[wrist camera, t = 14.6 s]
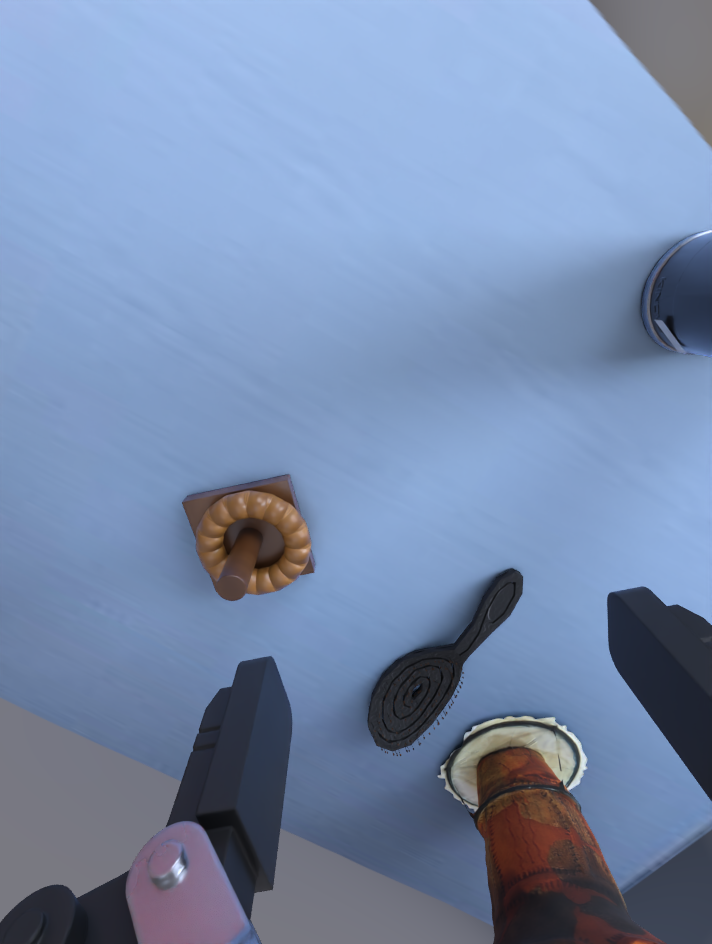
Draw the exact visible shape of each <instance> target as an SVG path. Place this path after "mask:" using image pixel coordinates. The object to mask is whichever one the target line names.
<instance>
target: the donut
mask: <svg viewBox="0 0 712 944" xmlns="http://www.w3.org/2000/svg"><path fill="white" fill-rule="evenodd" d="M246 518H255V519H262V520H264V521H266V522H268V523H270V524H272V525H274V526H275V527H276V529H277V530H278V531H279V532H280V533H281V534H282V537H283V540H284V543H285V546H284V553H283V555H282V556H281V558H280V559H279V561H277V562H276V563H274V564H273V565H271V566H269V567H265V568H260V569H256V568H254V570H253V573H252V576H251V579H250V582H249V585H248V588H247V591H246V594H254V595H261V594H266V593H271V592H275V591H279V590H281V589H283V588H284V587H286V586H287V585H289V584H290V583H292V582H293V581H295V580H296V579H297V578H298V577H299V575H300V574H301V572H302V571H303V569H304V568H305V566H306V565H307V563H308V561H309V555H310V549H311V538H310V535H309V531H308V528H307V525H306V522H305V520H304V519H303V518H302V516H301V515H300V514H299V513H298V512H297V510H296V509H295V508H294V507H293V506H292V505H291V504H290V503H288V502H286V501H284V500H282V499H281V498H279V497H277V496H275V495H273V494H270V493H264V492H257V491H249V490H248V491H243V492H238V493H234V494H229V495H226V496H224V497H223V498H221V499H220V500H219V501H217V502H216V503H214V504H213V505H212V506H210V507H209V508H208V509H207V510H206V512H205V514H204V516H203V517H202V519H201V521H200V523H199V524H198V527H197V532H196V551H197V553H198V556H199V558H200V561H201V563H202V566H203V568H204V569H205V570H206V571H207V572H208V573H209V574H210V575H211V576H212V577H213V578H214V579H215V580H216V581H218V579H219V576H220V574H221V572H222V570H223V567H224V565H225V563H226V561H227V558H228V556H229V555H228V554H227V552H226V549H225V547H224V544H223V540H224V533H225V532H226V530H227V528H228V527H229V526H230V525H231V524H233V523H234V522H236V521H237V520H241V519H246Z"/></svg>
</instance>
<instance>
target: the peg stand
mask: <svg viewBox="0 0 712 944" xmlns="http://www.w3.org/2000/svg"><path fill="white" fill-rule="evenodd" d="M248 490H249V491H257V492H264V493H270V494H273V495H275V496H277V497H279V498H281V499H282V500H284V501H286V502H288V503H290V504H291V505H292V506H293V507H294V508H295V509H296V510H297V512H298V513H299V514H300V515H301V513H300V510H299V506H298V503H297V499H296V496H295V492H294V489H293V485H292V482H291V478H290V475H284V476H279V477H274V478H270V479H265V480H260V481H256V482H251V483H246V484H241V485H237V486H232V487H227V488H222V489H218V490H213V491H208V492H204V493H199V494H194V495H189V496H187V497H186V498H185V499H184V500H183V502H182V504H183V507H184V509H185V512H186V514H187V517H188V520H189V522H190V525H191V527H192V530H193V533H194V535H195V538H196V532H197V527H198V524H199V523H200V521H201V519H202V517H203V516H204V514H205V512H206V510H207V509H208V508H209V507H210V506H212V505H213V504H214V503H216V502H217V501H219V500H220V499H221V498H223V497H224V496H226V495H229V494H234V493H238V492H243V491H248ZM223 544H224V547H225V549H226V552H227V554H228V555H229V556H228V558H227V561H226V563H225V565H224V567H223V570H222V572H221V574H220V576H219V579H218V581H216V580H215V579H214V578H213V577H212V576H211V575H210V577H211V579H212V582H213V585H214V587H215V590H216V592H217V593H218V594H219V595H220V596H221V597H222V598H224V599H226V600H229V601H235V600H239V599H241V598H242V597H243V596H244V595H245V594H246V591H247V588H248V585H249V582H250V579H251V576H252V573H253V570H254V568H256V569H260V568H265V567H269V566H271V565H273V564H274V563H276V562H277V561H279V559H280V558H281V556H282V555H283V553H284V546H285V543H284V540H283V537H282V534H281V533H280V532H279V531H278V530H277V529H276V527H275V526H274V525H272V524H270V523H268V522H266V521H264V520H262V519H255V518H246V519H241V520H237V521H236V522H234V523H233V524H231V525H230V526H229V527H228V528H227V530H226V532H225V533H224V540H223ZM314 571H315V562H314V558H313V555H312V551H311V549H310V555H309V561H308V563H307V565H306V566H305V568H304V569H303V571H302V572H301V574H300V575H304V574H309V573H314Z"/></svg>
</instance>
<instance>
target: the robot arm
mask: <svg viewBox="0 0 712 944" xmlns="http://www.w3.org/2000/svg"><path fill="white" fill-rule="evenodd" d="M642 317H643V321H644V325H645V327H646V330H647V331H648V333H649V335H650V336H651V338H652V339H653V340H654V341H655V342H656V343H657V344H659V345H660V346H662V347H663V348H665V349H668V350H670V351H674V352H679V353H684V354H698V355H703V356H708V357H712V230H711V231H705V232H700V233H697V234H694V235H691V236H689V237H687V238H685V239H683V240H682V241H680V242H678V243H677V244H676V245H674V246H673V247H672V248H671V249H669V250H668V251H667V252H666V253H665V254H664V255H663V256H662V258H661V259H660V260H659V261H658V263H657V264H656V265H655V267H654V269H653V270H652V272H651V274H650V276H649V278H648V280H647V282H646V285H645V288H644V292H643V297H642ZM607 607H608V642H609V650H610V654H611V657H612V660H613V662H614V664H615V666H616V668H617V670H618V672H619V673H620V675H621V676H622V678H623V679H624V680H625V682H626V683H627V685H628V686H629V687H630V689H631V690H632V692H633V693H634V694H635V696H636V697H637V698H638V700H639V701H640V703H641V704H642V705H643V707H644V708H645V710H646V711H647V712H648V714H649V715H650V717H651V718H652V719H653V721H654V722H655V723H656V725H657V726H658V728H659V729H660V730H661V732H662V733H663V735H664V736H665V737H666V739H667V740H668V741H669V743H670V744H671V746H672V747H673V748H674V750H675V751H676V753H677V754H678V755H679V757H680V758H681V760H682V761H683V762H684V764H685V765H686V766H687V768H688V769H689V771H690V772H691V773H692V775H693V776H694V778H695V779H696V780H697V782H698V783H699V784H700V786H701V787H702V789H703V790H704V791H705V793H706V794H707V796H708V797H709V798H710V800H711V801H712V625H711V624H710V623H708V622H707V621H706V620H705V619H704V618H703V617H701V616H699V615H697V614H695V613H693V612H691V611H689V610H687V609H685V608H683V607H681V606H679V605H672V606H666V605H665V604H664V603H663V602H662V601H661V600H660V599H659V598H658V597H657V596H656V595H655V594H654V593H653V592H652V591H651V590H649V589H648V588H646V587H637V588H632V589H627V590H621V591H616V592H611V593H609V595H608V598H607ZM291 735H292V714H291V707H290V703H289V700H288V697H287V694H286V692H285V689H284V686H283V683H282V680H281V677H280V675H279V672H278V669H277V666H276V663H275V661H274V659H273V658H272V657H271V656H269V657H263V658H258V659H253V660H248V661H242V662H240V663H239V665H238V667H237V671H236V674H235V678H234V681H233V685H232V687H227V688H222V689H220V690H219V691H218V693H217V694H216V695H215V697H214V698H213V700H212V701H211V702H210V704H209V705H208V706H207V708H206V710H205V713H204V716H203V719H202V722H201V725H200V728H199V734H197V737H196V740H195V743H194V746H193V752H191V755H190V758H189V761H188V764H187V767H186V770H185V773H184V776H183V779H182V781H181V784H180V787H179V791H178V794H177V797H176V799H175V802H174V805H173V808H172V812H171V815H170V817H169V820H168V823H167V825H166V828H164V829H162V830H161V831H160V832H158V833H157V834H156V835H155V836H153V837H152V838H151V839H150V840H149V841H148V842H147V843H146V844H145V846H144V847H143V848H142V849H141V851H140V852H139V854H138V855H137V857H136V858H135V860H134V862H133V864H132V866H131V868H130V870H129V871H127V872H125V873H124V874H122V875H120V876H119V877H117V878H115V879H113V880H111V881H109V882H107V883H105V884H103V885H101V886H99V887H97V888H96V889H94V890H92V891H90V892H88V893H86V894H84V895H82V896H80V897H78V898H76V897H75V895H74V894H73V893H72V891H71V890H70V889H69V888H68V887H66V886H63V885H51V886H47V887H44V888H42V889H40V890H38V891H36V892H34V893H32V894H31V895H29V896H28V897H26V898H25V899H24V900H23V901H21V902H20V903H19V904H18V905H16V906H15V907H14V909H12V910H11V911H10V912H9V913H8V914H7V915H6V916H5V918H4V919H3V920H2V921H1V923H0V944H262V943H261V941H260V939H259V937H258V935H257V933H256V931H255V928H254V926H253V924H252V922H251V920H250V918H251V911H252V904H253V897H254V893H256V892H262V891H267V890H272V889H273V884H274V875H275V867H276V859H277V851H278V842H279V834H280V826H281V818H282V809H283V801H284V793H285V784H286V776H287V768H288V760H289V751H290V743H291Z"/></svg>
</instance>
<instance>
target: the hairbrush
mask: <svg viewBox="0 0 712 944" xmlns="http://www.w3.org/2000/svg"><path fill="white" fill-rule="evenodd" d="M512 582H513V583H512ZM522 589H523V576H522V575H521V573H520V572H519V571H517V570H514V569H510V570H508V571H506V572H505V573H503V574H501V575H499V576H498V577H496V579H495V580H494V582H493V583H492V585H491V586H490V587H489V589H488V590H487V592H486V593H485V595H484V596H483V598H482V600H481V602H480V604H479V607H478V609H477V611H476V613H475V615H474V617H473V619H472V621H471V623H470V624H469V625H468V626H467V628H466V629H465V630H464V632H463V633H462V634H461V635H460V637H459V638H458V639H457V641H456V642H455V643H454V644H449V645H444V646H438V647H433V648H427V649H422V650H416V651H414V652H412V653H410V654H408V655H406V656H404V657H402V658H400V659H398V660H396V661H395V662H394V663H393V664H392V665H391V666H390V667H389V668H388V669H387V670H386V671H385V672H384V673H383V674H382V676H381V678H380V680H379V682H378V684H377V685H376V687H375V689H374V691H373V693H372V697H371V702H370V706H369V714H368V727H369V730H370V732H371V735H372V737H373V739H374V741H375V743H376V745H377V746H379V747H381V750H382V751H383V749H382V748H384V750H385V749H387V750H390V751H392V752H393V751H395V750H398V749H401V748H404V747H405V748H406V747H408V746H410V745H412V743H413V742H414V741H415V740H416V739H418V738H419V737H420V736H421V735H422V734H423V733H424V732H425V731H426V730H427V729H428V728H429V727H430V726H431V725H432V724H433V722H434V721H435V720H436V718H437V717H438V715H439V714H440V713H441V711H442V710H443V709H444V707H445V706H446V704H447V703H448V702H449V700H450V699H451V697H452V695H453V694H454V691H455V689H456V687H457V685H459V684H458V683H459V681H461V680H460V677H461V676H462V675H461V672H462V667H463V664H464V662H465V661H466V660H467V658H468V657H469V656H470V655H471V654H472V653H473V652H474V651H475V650H476V649H477V648H478V647H479V646H480V645H481V643H482V642H483V641H484V640H485V639H486V638H487V637H488V636H489V635H490V634H491V633H492V632H493V631H494V630H495V629H496V628H497V627H499V626H500V625H501V624H502V623H503V622H504V621H505V620H506V619H507V618H508V617H509V616H510V615H511V613H512V611H513V609H514V608H515V606H516V604H517V602H518V600H519V598H520V597H521V595H522ZM451 663H452V664H453V669H452V664H451ZM439 667H440V668H439ZM440 669H441V674H440ZM462 673H463V674H464V672H462ZM428 677H429V679H428ZM462 678H463V677H462ZM461 683H462V682H461ZM419 684H421V686H420V689H418V690H417V691H416V692H415V693H414V694H412V693H413V692H414V691H413V690H414V687H416V686H418V685H419ZM462 684H463V683H462ZM418 688H419V687H418ZM460 688H461V686H460ZM416 689H417V688H416ZM456 690H457V689H456ZM457 692H458V691H457ZM458 693H459V692H458ZM403 695H404V701H403V698H402V697H403ZM456 696H457V695H456ZM456 696H455V698H456ZM383 698H384V700H383ZM393 700H394V708H395V711H394V709H393ZM451 700H452V699H451ZM382 701H383V715H384V720H383V719H382ZM452 702H453V701H452ZM453 703H454V702H453ZM451 706H452V704H451ZM449 708H450V706H449ZM443 712H444V711H443ZM446 714H447V712H446ZM446 714H445V716H446ZM442 719H444V718H443V717H442ZM384 721H385V722H384ZM437 721H438V720H437ZM437 724H438V725H439V722H438V723H437ZM434 729H435V728H434ZM429 735H430V733H429ZM424 739H425V737H424ZM418 743H419V742H418ZM420 744H421V743H420ZM420 744H419V746H420ZM412 747H413V746H412ZM413 750H414V748H413ZM406 751H407V750H406ZM407 752H408V751H407ZM409 752H410V750H409ZM385 753H386V751H385ZM399 753H400V752H399ZM387 754H388V752H387ZM396 754H397V753H396ZM393 755H394V753H393ZM397 756H398V755H397ZM400 756H401V754H400Z"/></svg>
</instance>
